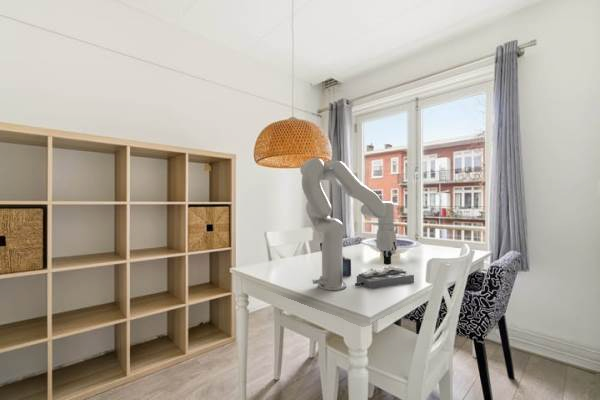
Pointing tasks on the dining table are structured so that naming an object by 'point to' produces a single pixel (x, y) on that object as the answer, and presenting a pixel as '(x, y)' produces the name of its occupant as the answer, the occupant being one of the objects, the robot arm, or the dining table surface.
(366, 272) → the rocker
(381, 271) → the rocker
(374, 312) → the dining table surface
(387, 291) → the dining table surface
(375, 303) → the dining table surface
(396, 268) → the rocker
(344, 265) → the flask
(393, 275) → the power strip
